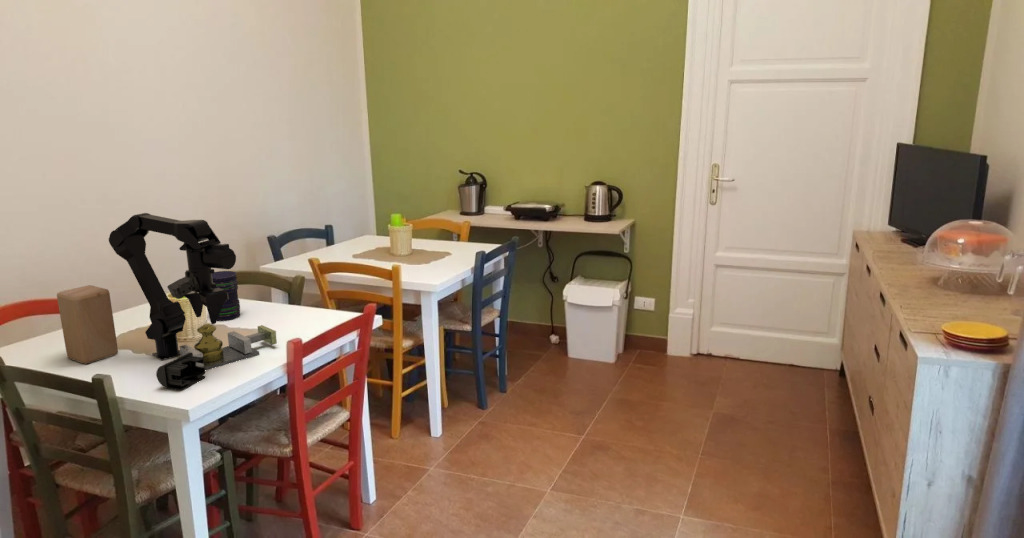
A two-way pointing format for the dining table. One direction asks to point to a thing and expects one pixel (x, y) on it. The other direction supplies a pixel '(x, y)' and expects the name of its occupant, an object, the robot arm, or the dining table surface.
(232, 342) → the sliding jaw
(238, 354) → the vise bed
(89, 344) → the wooden block
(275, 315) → the dining table surface
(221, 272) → the storage jar
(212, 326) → the olive finial
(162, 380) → the end cap
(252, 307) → the dining table surface
